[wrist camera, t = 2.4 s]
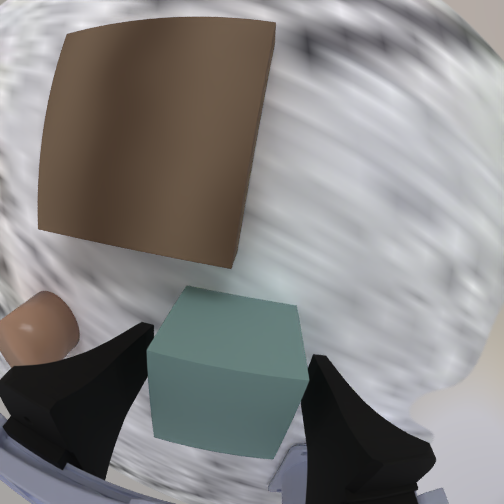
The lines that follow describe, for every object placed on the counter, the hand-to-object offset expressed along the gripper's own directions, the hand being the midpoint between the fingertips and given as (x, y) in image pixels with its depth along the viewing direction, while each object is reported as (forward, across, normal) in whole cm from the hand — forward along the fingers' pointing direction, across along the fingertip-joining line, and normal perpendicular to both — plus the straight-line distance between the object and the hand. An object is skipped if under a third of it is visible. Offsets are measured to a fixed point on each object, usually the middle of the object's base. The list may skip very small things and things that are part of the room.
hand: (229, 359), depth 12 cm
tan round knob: (+2, +11, +2) cm, 11 cm away
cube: (+2, 0, 0) cm, 2 cm away
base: (+1, +5, -9) cm, 10 cm away
